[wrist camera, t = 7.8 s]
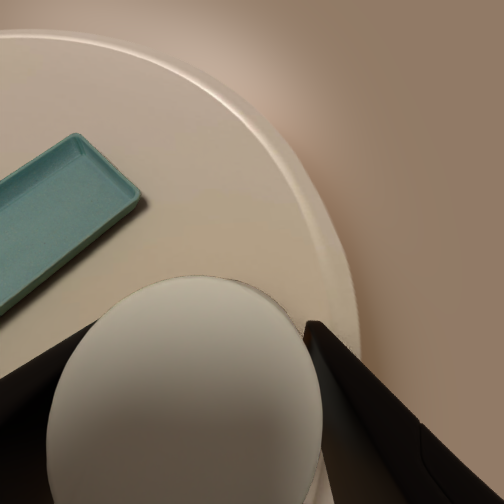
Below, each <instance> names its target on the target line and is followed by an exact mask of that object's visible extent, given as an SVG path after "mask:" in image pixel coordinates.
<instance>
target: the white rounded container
mask: <svg viewBox="0 0 504 504" xmlns="http://www.w3.org/2000/svg"><path fill="white" fill-rule="evenodd" d="M322 425H323V412H322V401H321V394H320V387H319V382H318V378H317V374H316V371H315V368H314V365H313V362H312V359H311V357H310V354H309V352H308V350H307V347H306V345H305V343H304V342H303V340H302V338H301V336H300V334H299V332H298V330H297V328H296V326H295V325H294V323H293V321H292V320H291V318H290V317H289V315H288V314H287V313H286V311H285V310H284V309H283V308H282V307H281V306H280V305H279V304H278V303H277V302H276V301H275V300H273V299H272V298H271V297H270V296H268V295H267V294H265V293H264V292H262V291H261V290H259V289H257V288H255V287H253V286H251V285H249V284H247V283H243V282H240V281H237V280H232V279H224V278H219V277H213V276H204V275H191V276H182V277H175V278H170V279H166V280H163V281H159V282H156V283H154V284H151V285H148V286H146V287H144V288H141V289H139V290H137V291H136V292H134V293H132V294H130V295H129V296H127V297H126V298H124V299H122V300H121V301H119V302H118V303H117V304H115V305H114V306H113V307H112V308H110V309H109V310H108V311H107V312H106V313H105V314H104V315H103V316H101V318H100V319H99V320H98V321H97V322H96V323H95V324H94V325H93V326H92V327H91V328H90V329H89V331H88V332H87V333H86V335H85V336H84V337H83V339H82V340H81V341H80V343H79V344H78V345H77V347H76V349H75V350H74V352H73V353H72V355H71V356H70V358H69V360H68V362H67V363H66V365H65V368H64V370H63V372H62V375H61V377H60V380H59V382H58V385H57V388H56V391H55V393H54V397H53V402H52V406H51V410H50V413H49V419H48V426H47V437H46V453H47V474H48V481H49V485H50V490H51V493H52V497H53V500H54V503H55V504H303V502H304V500H305V498H306V495H307V493H308V491H309V488H310V486H311V483H312V480H313V478H314V474H315V471H316V468H317V464H318V459H319V455H320V449H321V440H322Z"/></svg>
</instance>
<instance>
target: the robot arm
mask: <svg viewBox="0 0 504 504" xmlns="http://www.w3.org/2000/svg"><path fill="white" fill-rule="evenodd" d="M99 319H100V318H99ZM99 319H98V320H99ZM98 320H96V321H95V322H93V323H91V324H90V325H88V326H86V327H85V328H83V329H81V330H80V331H78V332H77V333H75V334H73V335H72V336H70V337H68V338H67V339H65V340H63V341H62V342H60V343H59V344H57V345H55V346H54V347H52V348H50V349H49V350H47V351H45V352H44V353H42V354H41V355H39V356H37V357H36V358H34V359H32V360H31V361H29V362H27V363H26V364H24V365H23V366H21V367H19V368H18V369H16V370H14V371H13V372H11V373H9V374H8V375H6V376H5V377H3V378H1V379H0V504H54V500H53V497H52V493H51V490H50V485H49V481H48V474H47V453H46V437H47V426H48V419H49V413H50V410H51V406H52V402H53V397H54V393H55V391H56V388H57V385H58V382H59V380H60V377H61V375H62V372H63V370H64V368H65V365H66V363H67V362H68V360H69V358H70V356H71V355H72V353H73V352H74V350H75V349H76V347H77V345H78V344H79V343H80V341H81V340H82V339H83V337H84V336H85V335H86V333H87V332H88V331H89V329H90V328H91V327H92V326H93V325H94V324H95V323H96V322H97V321H98ZM303 342H304V343H305V345H306V347H307V350H308V352H309V354H310V357H311V359H312V362H313V365H314V368H315V371H316V374H317V378H318V382H319V387H320V394H321V401H322V412H323V425H322V440H321V449H322V453H323V457H324V462H325V466H326V470H327V474H328V478H329V483H330V487H331V491H332V495H333V500H334V504H504V500H503V499H502V498H500V497H499V496H498V495H497V494H496V493H495V492H494V491H493V490H492V489H490V488H489V487H488V486H487V485H486V484H485V483H484V482H483V481H482V480H481V479H479V477H477V476H476V475H475V474H474V473H473V472H472V471H471V470H470V469H469V468H468V467H466V466H465V465H464V464H463V463H462V462H461V461H460V460H459V459H458V458H457V457H456V456H455V455H454V454H453V453H452V452H451V451H450V450H449V449H448V448H447V447H446V446H445V445H444V444H443V443H442V442H441V441H440V440H439V439H438V438H437V437H435V435H434V434H433V433H431V431H430V430H429V429H428V428H427V427H426V426H425V425H424V424H422V423H420V422H419V420H418V418H416V416H415V415H414V414H413V413H412V412H411V411H410V410H408V408H407V407H406V406H405V405H404V404H403V403H402V402H401V401H400V400H399V399H398V398H397V397H396V396H394V394H393V393H391V391H390V390H389V389H388V388H387V387H386V386H385V385H384V384H383V383H381V381H380V380H379V379H378V378H377V377H376V376H375V375H374V374H373V373H372V372H371V371H370V370H369V369H368V368H367V367H366V366H365V365H364V364H363V363H362V362H361V361H360V360H359V359H358V358H357V357H356V356H355V355H354V354H353V353H352V352H351V351H350V350H349V349H348V348H347V347H346V346H345V345H344V344H343V343H342V342H341V341H340V340H339V339H338V338H337V337H336V336H335V335H334V334H333V333H332V332H331V331H330V330H329V329H328V328H327V327H326V326H325V325H324V324H323V323H322V322H320V321H311V320H309V321H307V323H306V326H305V331H304V336H303Z"/></svg>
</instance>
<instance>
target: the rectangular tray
mask: <svg viewBox="0 0 504 504" xmlns="http://www.w3.org/2000/svg"><path fill="white" fill-rule="evenodd" d="M140 196H141V192H140V190H139V189H138V188H137V187H136V186H135V185H134V184H132V183H131V182H130V181H129V180H128V179H127V178H126V177H125V176H124V175H123V174H121V173H120V172H119V171H118V170H117V169H116V168H115V167H114V166H113V165H112V164H111V163H110V162H109V161H108V160H107V159H106V158H105V157H104V156H103V155H102V154H101V153H100V152H98V150H97V149H95V148H94V147H93V146H92V145H91V144H90V143H89V142H88V141H87V140H86V139H85V138H84V137H83V136H82V135H81V134H79V133H73V134H71V135H69V136H68V137H66V138H65V139H63V140H62V141H60V142H59V143H57V144H56V145H54V146H53V147H51V148H50V149H48V150H47V151H45V152H44V153H42V154H41V155H39V156H37V157H36V158H34V159H33V160H31V161H30V162H28V163H27V164H25V165H24V166H22V167H21V168H19V169H18V170H16V171H15V172H13V173H11V174H10V175H8V176H7V177H5V178H4V179H2V180H1V181H0V316H1V315H3V314H4V313H5V312H6V311H8V310H9V309H10V308H11V307H13V306H14V305H15V304H16V303H18V302H19V301H20V300H21V299H23V298H24V297H25V296H26V295H27V294H29V293H30V292H31V291H32V290H34V289H35V288H36V287H37V286H39V285H40V284H41V283H42V282H44V281H45V280H46V279H47V278H49V277H50V276H51V275H52V274H54V273H55V272H56V271H57V270H58V269H60V268H61V267H62V266H63V265H65V264H66V263H67V262H68V261H70V260H71V259H72V258H73V257H75V256H76V255H77V254H78V253H80V252H81V251H82V250H83V249H85V248H86V247H87V246H88V245H89V244H91V243H92V242H93V241H94V240H96V239H97V238H98V237H99V236H101V235H102V234H103V233H104V232H106V231H107V230H108V229H109V228H111V227H112V226H113V225H114V224H115V223H117V222H118V221H119V220H120V219H122V218H123V217H124V216H125V215H127V214H128V213H129V212H131V211H132V210H133V209H134V208H135V207H136V205H137V203H138V201H139V199H140Z"/></svg>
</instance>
